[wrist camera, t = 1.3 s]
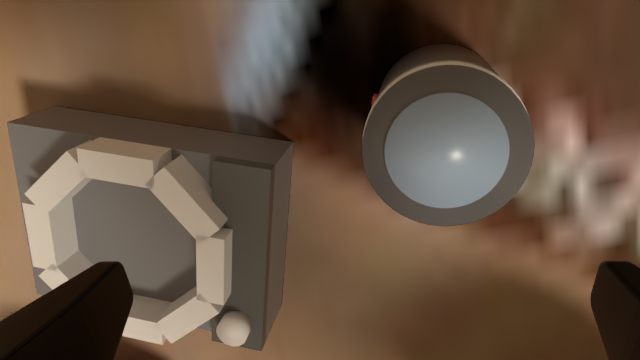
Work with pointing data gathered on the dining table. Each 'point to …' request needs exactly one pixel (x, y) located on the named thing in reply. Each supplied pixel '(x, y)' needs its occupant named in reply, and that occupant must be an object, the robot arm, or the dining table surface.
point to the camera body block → (159, 218)
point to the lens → (446, 137)
